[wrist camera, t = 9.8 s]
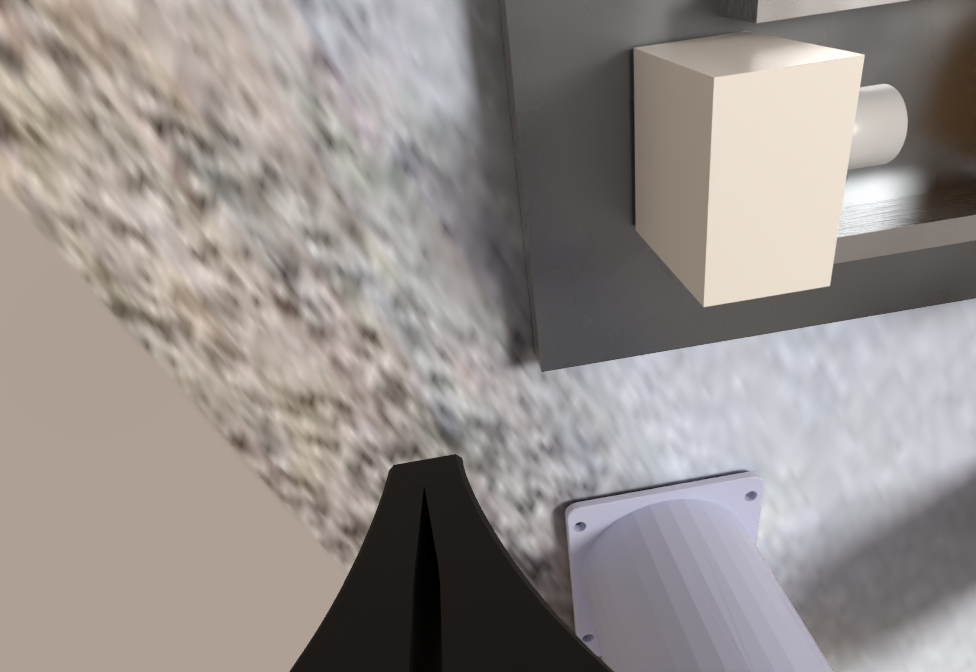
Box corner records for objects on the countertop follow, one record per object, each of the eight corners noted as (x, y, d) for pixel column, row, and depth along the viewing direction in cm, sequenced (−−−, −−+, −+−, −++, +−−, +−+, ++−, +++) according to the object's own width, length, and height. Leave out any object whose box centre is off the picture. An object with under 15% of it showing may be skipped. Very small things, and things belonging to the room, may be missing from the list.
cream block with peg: (635, 230, 20) (703, 307, 15) (633, 47, 17) (714, 77, 13) (832, 198, 20) (953, 265, 16) (858, 14, 17) (1012, 32, 13)
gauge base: (534, 353, 23) (586, 500, 17) (484, -143, 16) (541, -208, 10) (1112, 255, 24) (1366, 360, 18) (1305, -255, 17) (1842, -381, 11)
